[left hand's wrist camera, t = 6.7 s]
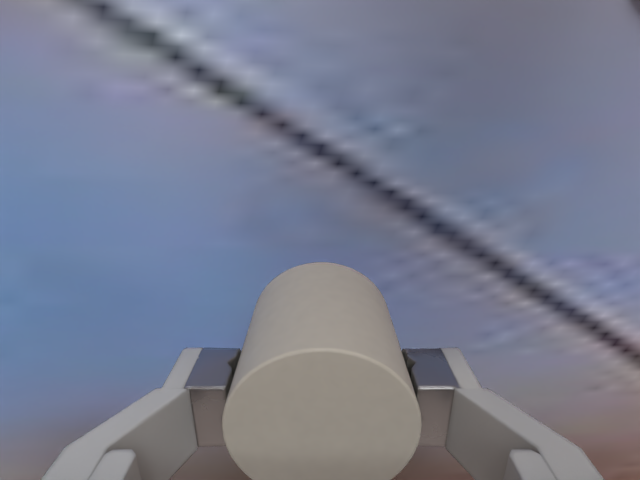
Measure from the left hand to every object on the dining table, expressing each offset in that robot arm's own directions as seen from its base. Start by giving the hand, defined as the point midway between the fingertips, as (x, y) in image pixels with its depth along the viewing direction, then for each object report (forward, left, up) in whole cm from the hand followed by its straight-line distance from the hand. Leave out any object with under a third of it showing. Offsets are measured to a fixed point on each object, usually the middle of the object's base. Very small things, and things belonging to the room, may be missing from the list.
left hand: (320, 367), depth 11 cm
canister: (0, 0, -2) cm, 2 cm away
